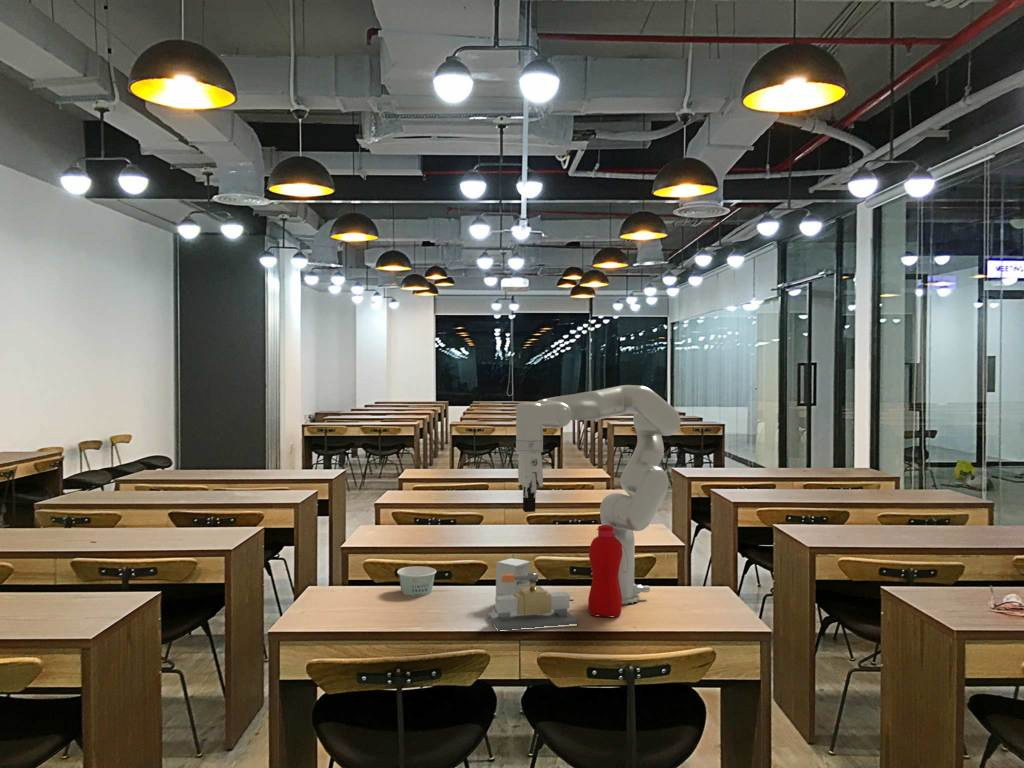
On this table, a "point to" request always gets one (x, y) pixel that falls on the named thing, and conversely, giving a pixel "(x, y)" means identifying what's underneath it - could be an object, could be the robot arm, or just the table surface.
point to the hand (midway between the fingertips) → (529, 511)
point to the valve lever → (519, 577)
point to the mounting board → (531, 620)
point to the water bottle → (605, 573)
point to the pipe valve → (532, 602)
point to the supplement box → (517, 569)
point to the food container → (416, 580)
